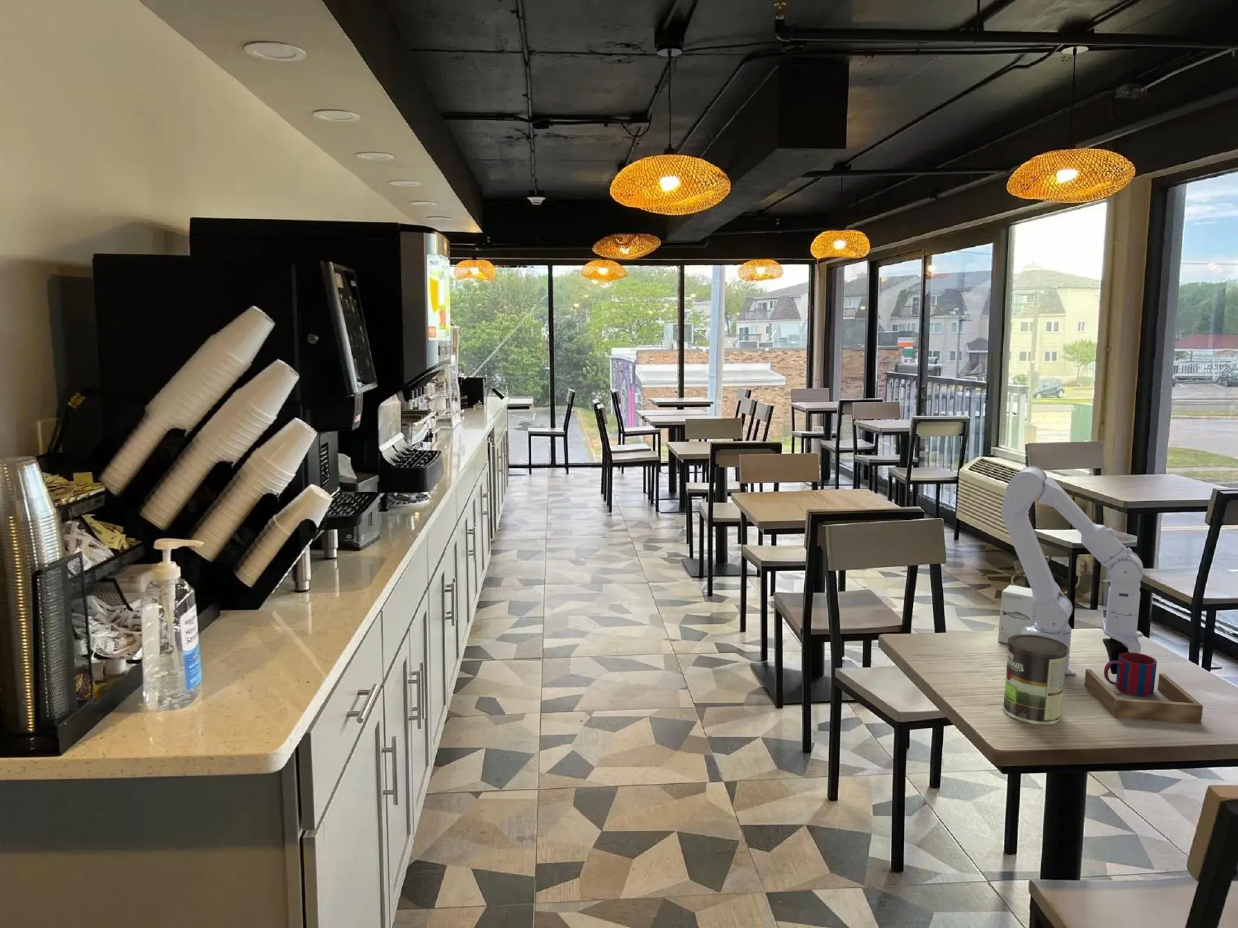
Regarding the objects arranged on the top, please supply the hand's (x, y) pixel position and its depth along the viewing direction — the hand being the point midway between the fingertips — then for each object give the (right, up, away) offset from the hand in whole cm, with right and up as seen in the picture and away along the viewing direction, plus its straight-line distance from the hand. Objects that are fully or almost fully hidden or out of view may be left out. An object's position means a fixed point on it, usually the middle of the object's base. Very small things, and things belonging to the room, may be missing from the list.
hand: (1116, 673), depth 181 cm
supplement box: (-10, +2, +23) cm, 25 cm away
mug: (-1, -2, -5) cm, 5 cm away
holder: (-2, -3, -11) cm, 12 cm away
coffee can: (-25, -4, -16) cm, 30 cm away
